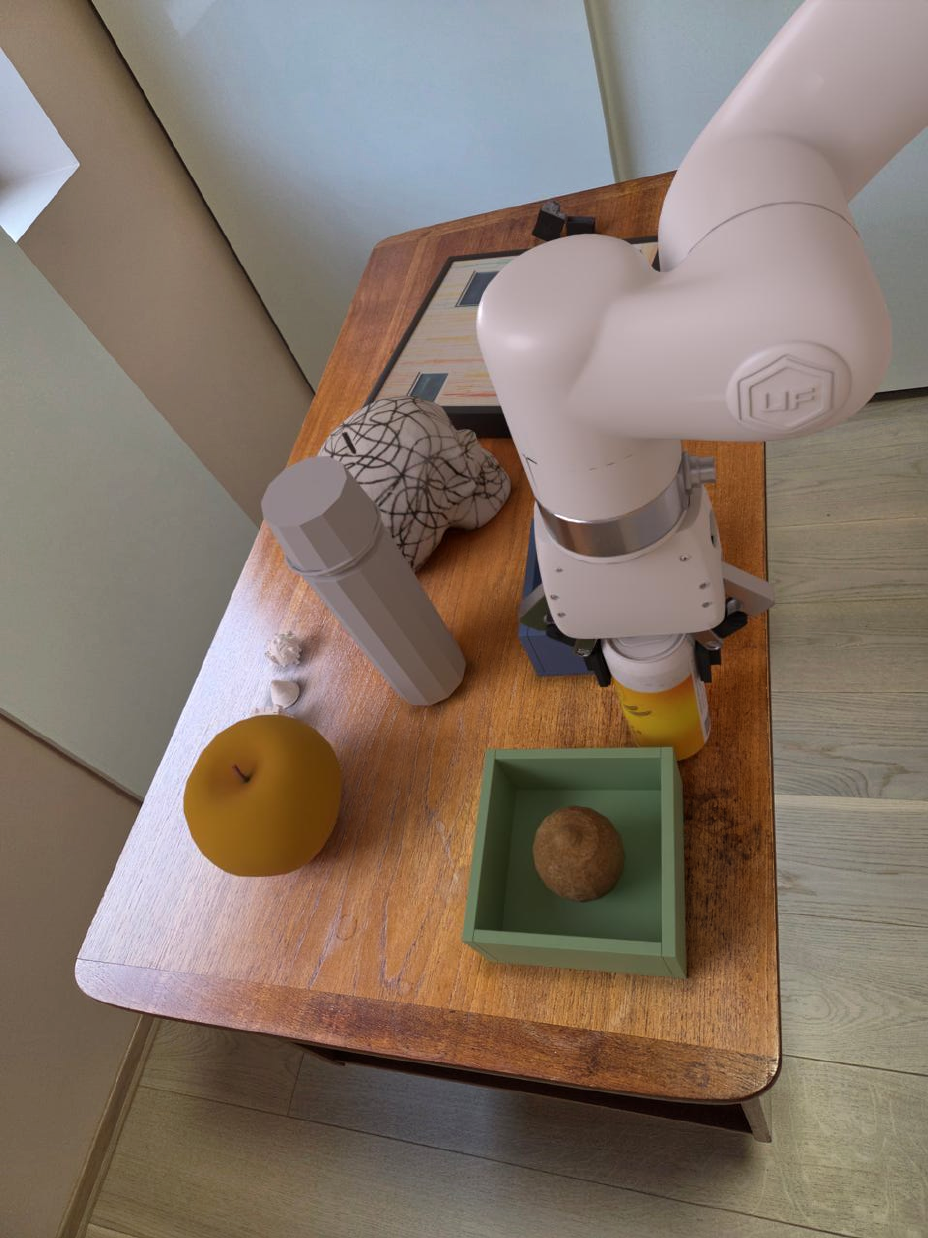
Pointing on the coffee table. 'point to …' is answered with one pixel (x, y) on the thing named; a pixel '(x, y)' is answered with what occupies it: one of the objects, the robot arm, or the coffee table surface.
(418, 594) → the water bottle
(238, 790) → the apple
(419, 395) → the framed painting
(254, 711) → the seashells
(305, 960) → the coffee table surface
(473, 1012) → the coffee table surface
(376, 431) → the sculpture
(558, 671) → the blue bin
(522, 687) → the coffee table surface
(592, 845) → the fruit
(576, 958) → the green bin
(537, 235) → the lighter
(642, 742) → the beer can
